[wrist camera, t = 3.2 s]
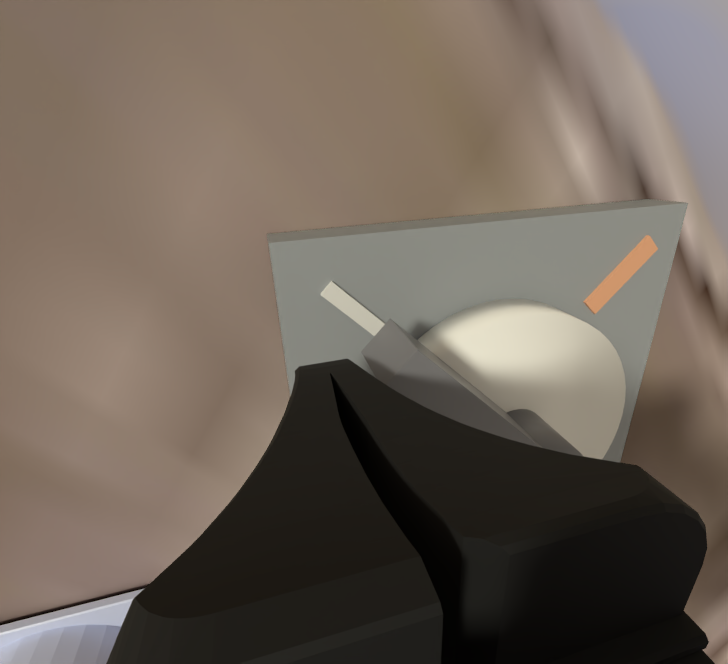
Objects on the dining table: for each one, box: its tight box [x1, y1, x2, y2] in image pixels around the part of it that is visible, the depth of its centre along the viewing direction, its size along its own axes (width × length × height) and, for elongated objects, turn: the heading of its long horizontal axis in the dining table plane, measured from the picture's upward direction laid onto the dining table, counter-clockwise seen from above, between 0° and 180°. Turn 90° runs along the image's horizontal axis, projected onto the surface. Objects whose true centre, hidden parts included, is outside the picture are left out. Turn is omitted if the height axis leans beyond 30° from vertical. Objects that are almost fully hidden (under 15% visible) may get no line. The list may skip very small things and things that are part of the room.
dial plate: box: [267, 199, 688, 463], centre depth 16 cm, size 14×14×2 cm
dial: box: [361, 298, 626, 460], centre depth 13 cm, size 11×9×4 cm
